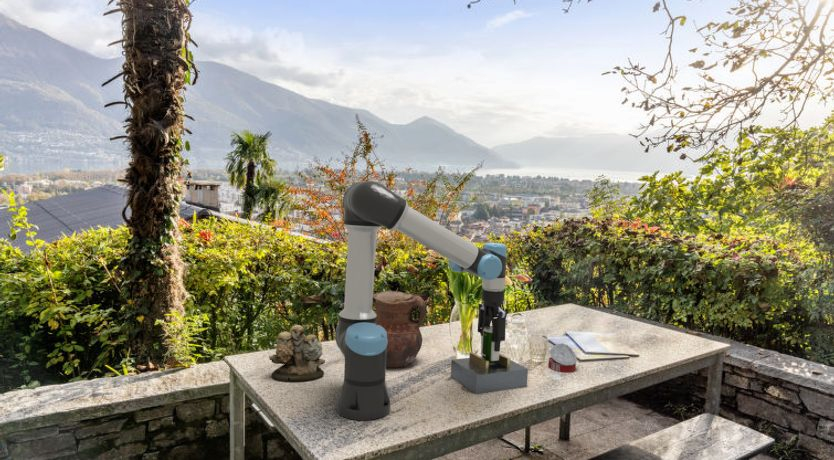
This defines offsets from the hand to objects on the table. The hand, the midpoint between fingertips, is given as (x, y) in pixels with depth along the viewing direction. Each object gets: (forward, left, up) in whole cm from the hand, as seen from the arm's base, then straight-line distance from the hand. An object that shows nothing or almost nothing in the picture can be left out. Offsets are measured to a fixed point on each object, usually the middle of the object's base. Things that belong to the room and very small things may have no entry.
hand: (489, 357), depth 167 cm
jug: (-23, +29, -8) cm, 38 cm away
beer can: (0, 0, -2) cm, 2 cm away
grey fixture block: (+1, +1, -8) cm, 8 cm away
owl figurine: (-59, +25, -9) cm, 65 cm away
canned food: (+35, +3, -9) cm, 36 cm away
